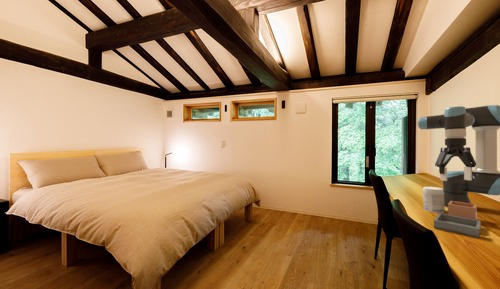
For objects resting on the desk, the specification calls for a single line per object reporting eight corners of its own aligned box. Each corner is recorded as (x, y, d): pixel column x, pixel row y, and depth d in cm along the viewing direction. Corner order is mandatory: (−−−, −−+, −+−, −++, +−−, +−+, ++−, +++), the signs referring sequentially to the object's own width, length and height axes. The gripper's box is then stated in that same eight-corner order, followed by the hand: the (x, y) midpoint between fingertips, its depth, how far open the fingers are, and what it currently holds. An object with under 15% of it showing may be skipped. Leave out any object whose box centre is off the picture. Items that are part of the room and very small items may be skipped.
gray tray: (439, 220, 110) (439, 213, 110) (480, 228, 99) (480, 220, 99) (433, 228, 101) (433, 220, 101) (479, 238, 89) (479, 229, 89)
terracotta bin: (450, 216, 116) (450, 200, 116) (477, 221, 108) (476, 204, 108) (448, 220, 110) (448, 204, 110) (475, 226, 102) (475, 208, 102)
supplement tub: (446, 212, 122) (446, 188, 122) (442, 215, 117) (441, 190, 117) (426, 208, 130) (425, 185, 131) (421, 211, 125) (420, 187, 125)
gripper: (468, 138, 106) (469, 178, 105) (425, 138, 103) (425, 179, 103) (486, 137, 98) (487, 181, 98) (440, 137, 96) (441, 182, 95)
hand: (455, 180), depth 100 cm, fingers open, 13 cm apart
